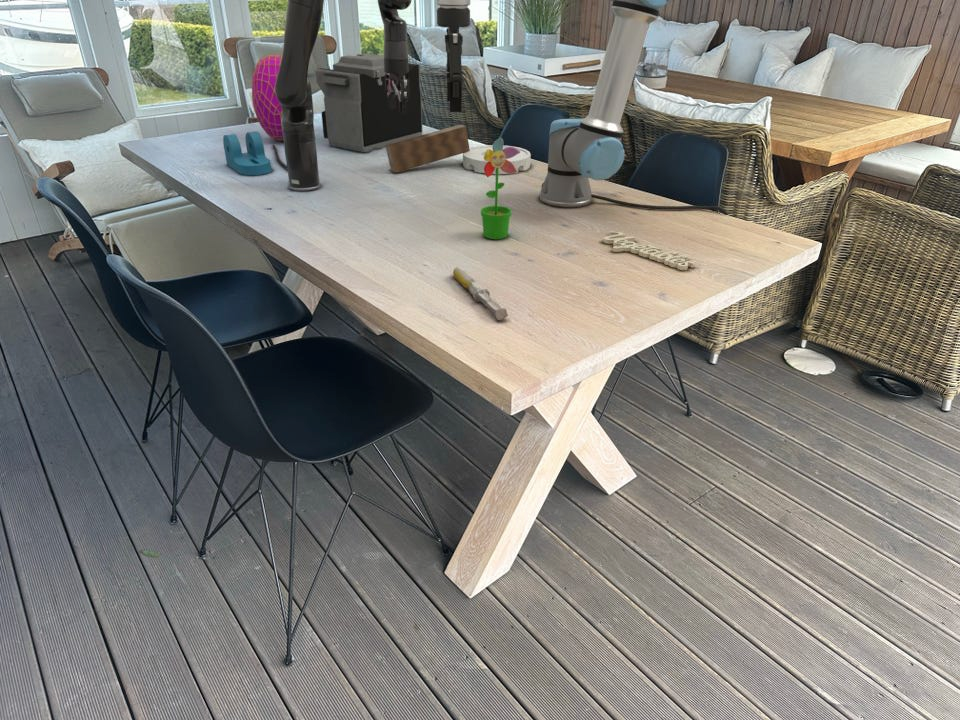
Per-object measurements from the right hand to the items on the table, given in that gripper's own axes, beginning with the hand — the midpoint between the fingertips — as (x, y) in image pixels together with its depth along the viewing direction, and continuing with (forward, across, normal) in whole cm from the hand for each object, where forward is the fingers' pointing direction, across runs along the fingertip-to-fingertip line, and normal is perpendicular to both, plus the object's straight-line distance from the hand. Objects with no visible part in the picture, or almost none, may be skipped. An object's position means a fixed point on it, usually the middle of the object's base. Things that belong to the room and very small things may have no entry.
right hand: (454, 106), depth 165 cm
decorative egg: (+31, -104, -60) cm, 124 cm away
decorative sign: (+31, +19, +45) cm, 58 cm away
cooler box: (+31, -100, -26) cm, 108 cm away
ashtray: (+31, -64, +18) cm, 73 cm away
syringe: (+31, +41, +3) cm, 52 cm away
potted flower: (+31, +5, +10) cm, 33 cm away
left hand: (+12, -58, -15) cm, 62 cm away
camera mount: (+31, -63, -65) cm, 95 cm away
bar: (+29, -62, -5) cm, 68 cm away
